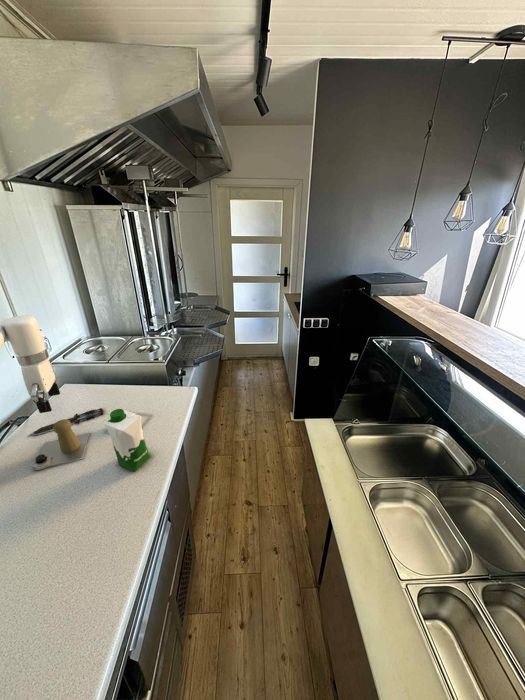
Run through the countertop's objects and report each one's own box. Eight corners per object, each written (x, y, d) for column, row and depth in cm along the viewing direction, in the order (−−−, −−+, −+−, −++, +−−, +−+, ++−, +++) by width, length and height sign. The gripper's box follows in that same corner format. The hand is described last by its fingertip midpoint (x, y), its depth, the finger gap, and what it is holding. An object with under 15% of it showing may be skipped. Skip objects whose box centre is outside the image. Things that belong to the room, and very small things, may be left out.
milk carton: (135, 448, 102) (122, 403, 94) (154, 456, 99) (143, 410, 90) (114, 466, 95) (99, 419, 86) (134, 475, 92) (120, 427, 83)
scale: (31, 473, 93) (28, 468, 92) (44, 444, 105) (42, 439, 104) (82, 461, 97) (80, 456, 96) (89, 434, 109) (87, 429, 108)
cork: (57, 448, 102) (46, 424, 97) (75, 438, 106) (65, 414, 101) (65, 455, 99) (55, 430, 94) (83, 444, 103) (74, 420, 98)
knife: (29, 439, 107) (28, 436, 107) (32, 428, 113) (31, 425, 112) (104, 417, 118) (103, 414, 118) (103, 409, 123) (102, 406, 123)
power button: (35, 464, 94) (34, 461, 93) (38, 458, 96) (36, 455, 95) (45, 462, 94) (43, 459, 94) (47, 456, 97) (45, 453, 96)
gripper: (28, 346, 93) (45, 391, 100) (5, 371, 78) (27, 421, 85) (55, 343, 95) (70, 387, 102) (38, 367, 80) (56, 416, 88)
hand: (50, 403), depth 94 cm, fingers open, 9 cm apart
